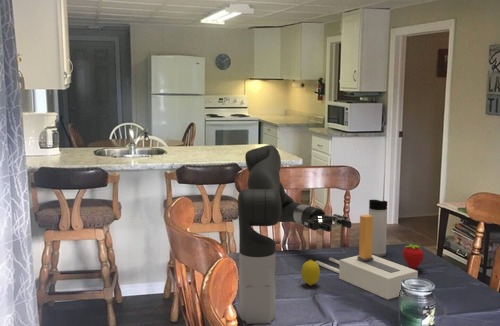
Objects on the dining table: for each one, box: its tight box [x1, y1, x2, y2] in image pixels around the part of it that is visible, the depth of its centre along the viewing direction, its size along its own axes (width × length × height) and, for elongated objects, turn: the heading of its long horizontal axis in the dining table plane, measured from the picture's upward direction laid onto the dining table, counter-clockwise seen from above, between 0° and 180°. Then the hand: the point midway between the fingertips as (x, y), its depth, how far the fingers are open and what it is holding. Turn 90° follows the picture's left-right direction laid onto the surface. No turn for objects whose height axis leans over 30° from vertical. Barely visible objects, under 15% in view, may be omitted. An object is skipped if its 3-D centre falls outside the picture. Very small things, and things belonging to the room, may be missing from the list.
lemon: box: [301, 259, 321, 287], centre depth 159 cm, size 6×6×8 cm
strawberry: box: [402, 241, 425, 270], centre depth 172 cm, size 6×8×10 cm
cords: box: [314, 257, 340, 274], centre depth 175 cm, size 14×7×1 cm, turn 32°
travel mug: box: [368, 199, 388, 258], centre depth 188 cm, size 6×7×20 cm
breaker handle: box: [357, 214, 373, 261], centre depth 162 cm, size 4×3×14 cm
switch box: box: [338, 254, 419, 301], centre depth 160 cm, size 20×12×6 cm, turn 32°
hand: (340, 226), depth 172 cm, fingers open, 8 cm apart
